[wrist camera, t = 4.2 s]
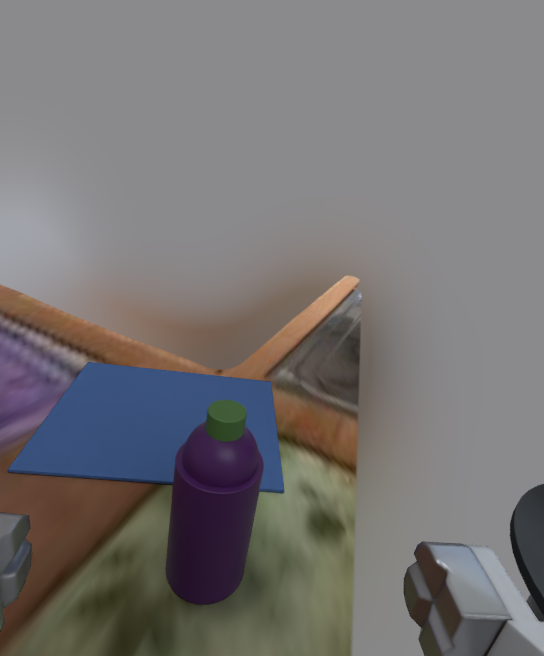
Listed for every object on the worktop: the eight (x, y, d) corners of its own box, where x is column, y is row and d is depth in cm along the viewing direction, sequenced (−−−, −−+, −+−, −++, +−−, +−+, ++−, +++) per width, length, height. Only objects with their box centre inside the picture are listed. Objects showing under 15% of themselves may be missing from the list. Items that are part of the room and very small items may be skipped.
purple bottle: (243, 535, 30) (270, 390, 25) (244, 606, 25) (276, 444, 21) (172, 530, 30) (186, 381, 25) (158, 603, 25) (172, 435, 20)
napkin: (270, 383, 51) (271, 381, 51) (283, 492, 35) (284, 490, 35) (88, 364, 49) (88, 361, 48) (7, 472, 32) (7, 469, 32)
